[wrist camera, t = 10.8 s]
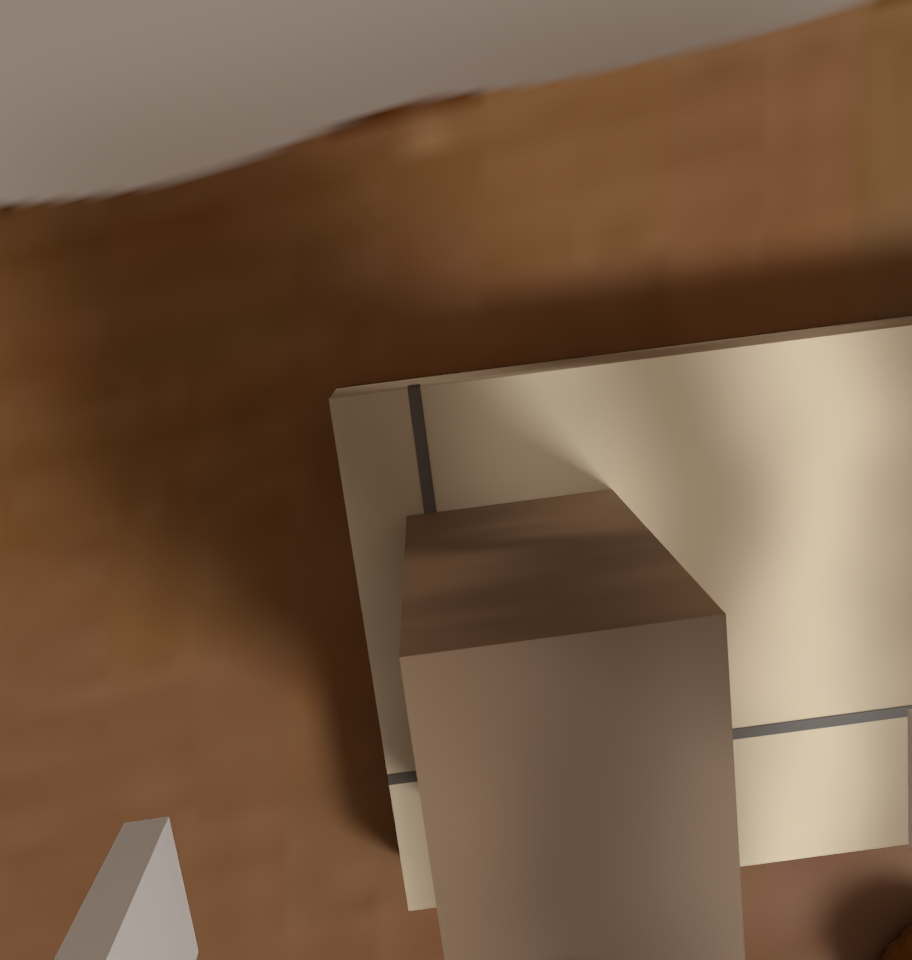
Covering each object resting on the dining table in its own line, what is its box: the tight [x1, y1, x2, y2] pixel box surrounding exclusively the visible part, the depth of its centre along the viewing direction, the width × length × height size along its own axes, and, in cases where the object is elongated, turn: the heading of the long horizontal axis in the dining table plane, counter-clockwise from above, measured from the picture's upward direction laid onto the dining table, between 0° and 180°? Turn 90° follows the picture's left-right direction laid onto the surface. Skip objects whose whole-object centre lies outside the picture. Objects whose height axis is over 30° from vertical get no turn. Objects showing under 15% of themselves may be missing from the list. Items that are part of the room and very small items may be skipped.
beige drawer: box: [399, 489, 745, 960], centre depth 18 cm, size 5×8×9 cm, turn 7°
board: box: [329, 316, 912, 911], centre depth 23 cm, size 28×14×2 cm, turn 97°
